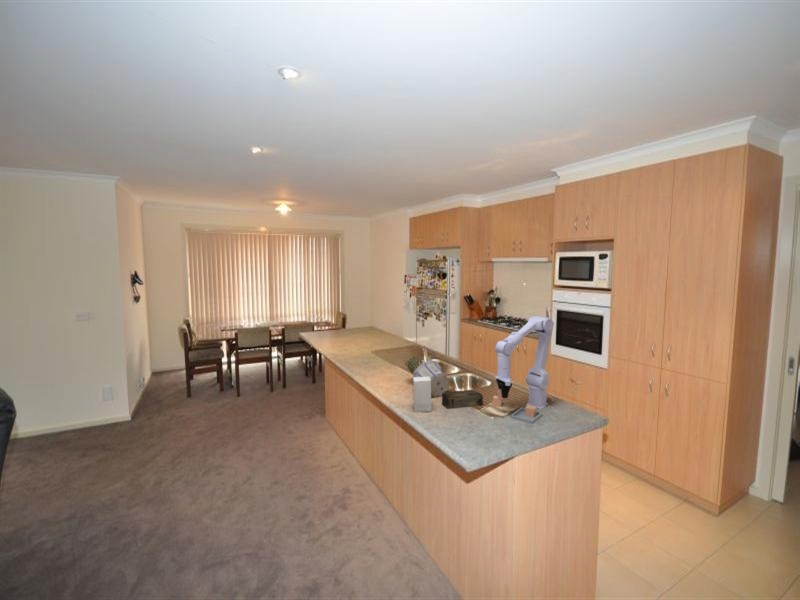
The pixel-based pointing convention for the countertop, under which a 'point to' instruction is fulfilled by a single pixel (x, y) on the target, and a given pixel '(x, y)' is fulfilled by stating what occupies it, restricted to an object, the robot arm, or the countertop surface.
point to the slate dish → (521, 416)
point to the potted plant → (430, 374)
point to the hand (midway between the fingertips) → (503, 396)
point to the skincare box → (422, 394)
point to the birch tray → (499, 409)
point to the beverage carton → (462, 399)
